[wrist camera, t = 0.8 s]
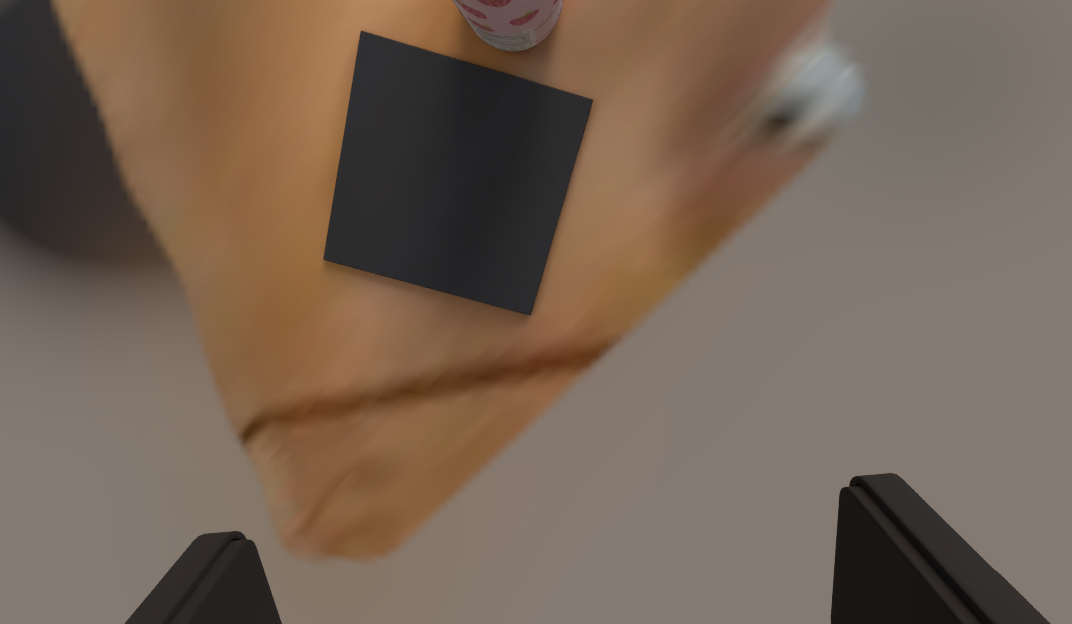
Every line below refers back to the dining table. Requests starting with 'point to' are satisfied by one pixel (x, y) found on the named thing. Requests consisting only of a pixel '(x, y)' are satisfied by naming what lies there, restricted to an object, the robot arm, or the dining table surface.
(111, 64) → the dining table surface
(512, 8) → the beverage can
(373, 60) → the mat
